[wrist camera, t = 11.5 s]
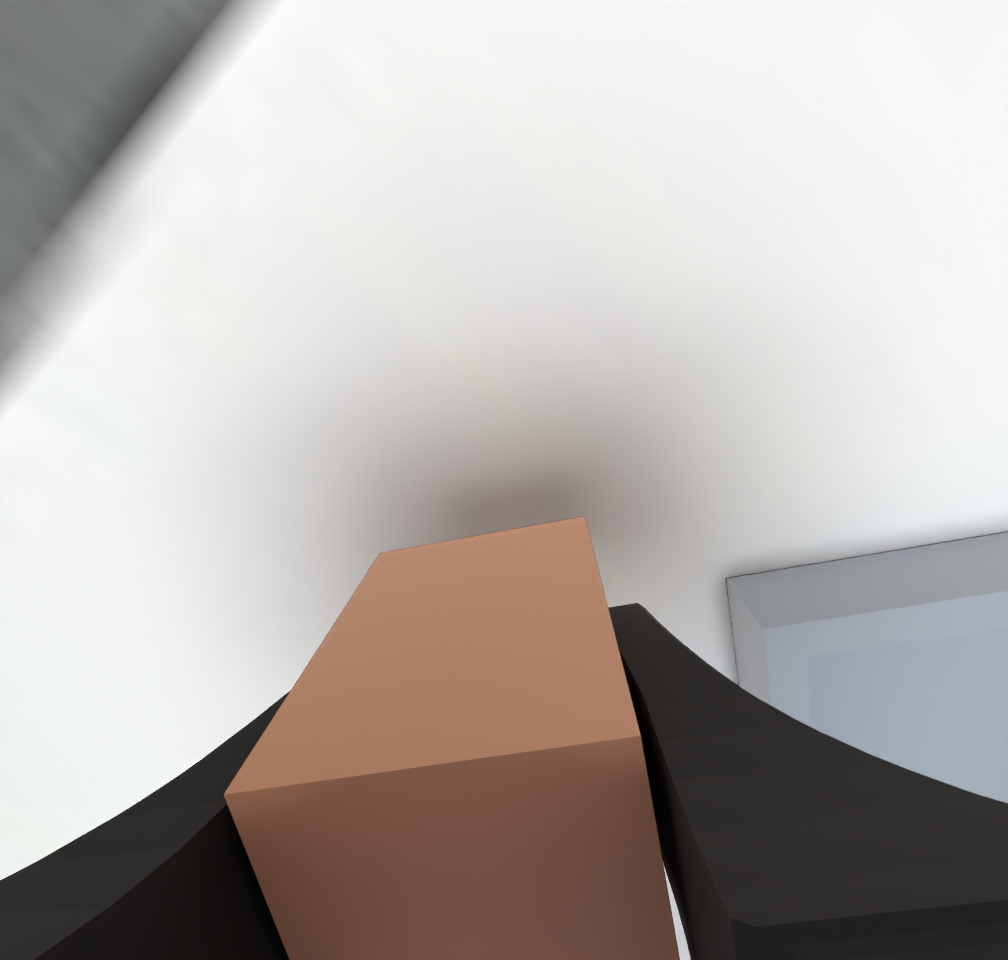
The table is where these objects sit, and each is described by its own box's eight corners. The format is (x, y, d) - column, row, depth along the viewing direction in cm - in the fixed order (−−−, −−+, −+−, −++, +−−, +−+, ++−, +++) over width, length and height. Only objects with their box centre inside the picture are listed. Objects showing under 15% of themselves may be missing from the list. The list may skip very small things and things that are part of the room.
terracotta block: (617, 698, 12) (695, 1050, 6) (428, 726, 12) (337, 1082, 7) (584, 516, 11) (640, 735, 5) (380, 553, 11) (223, 795, 6)
